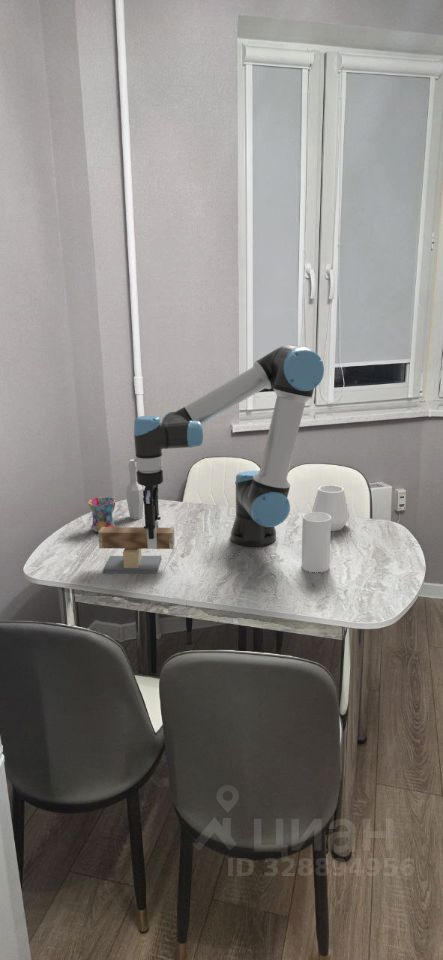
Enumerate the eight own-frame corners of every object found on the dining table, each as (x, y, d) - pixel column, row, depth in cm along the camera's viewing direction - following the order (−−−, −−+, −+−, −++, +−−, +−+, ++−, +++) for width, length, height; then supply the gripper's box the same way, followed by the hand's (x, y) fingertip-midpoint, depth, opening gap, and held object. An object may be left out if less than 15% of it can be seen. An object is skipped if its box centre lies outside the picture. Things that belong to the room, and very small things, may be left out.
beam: (174, 543, 187) (174, 527, 185) (172, 549, 182) (172, 533, 181) (102, 542, 187) (101, 526, 186) (99, 548, 183) (98, 532, 181)
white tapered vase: (352, 533, 210) (354, 494, 206) (312, 533, 210) (314, 494, 206) (345, 519, 222) (346, 482, 218) (308, 519, 223) (309, 483, 219)
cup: (312, 575, 179) (313, 523, 174) (296, 564, 186) (297, 514, 181) (334, 569, 182) (336, 518, 178) (318, 559, 189) (320, 510, 185)
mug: (106, 536, 211) (104, 506, 208) (84, 532, 215) (82, 503, 211) (126, 524, 221) (124, 496, 218) (105, 521, 225) (103, 493, 222)
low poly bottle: (125, 520, 225) (121, 462, 219) (130, 514, 231) (127, 457, 225) (142, 520, 224) (138, 462, 218) (146, 514, 230) (143, 458, 224)
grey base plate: (161, 559, 191) (160, 540, 189) (157, 573, 182) (156, 553, 180) (110, 559, 192) (108, 540, 190) (103, 573, 182) (101, 553, 180)
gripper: (141, 462, 186) (145, 533, 193) (131, 478, 169) (136, 556, 176) (165, 461, 186) (169, 533, 193) (158, 478, 169) (162, 556, 176)
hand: (153, 544), depth 184 cm, fingers closed on beam, 4 cm apart
